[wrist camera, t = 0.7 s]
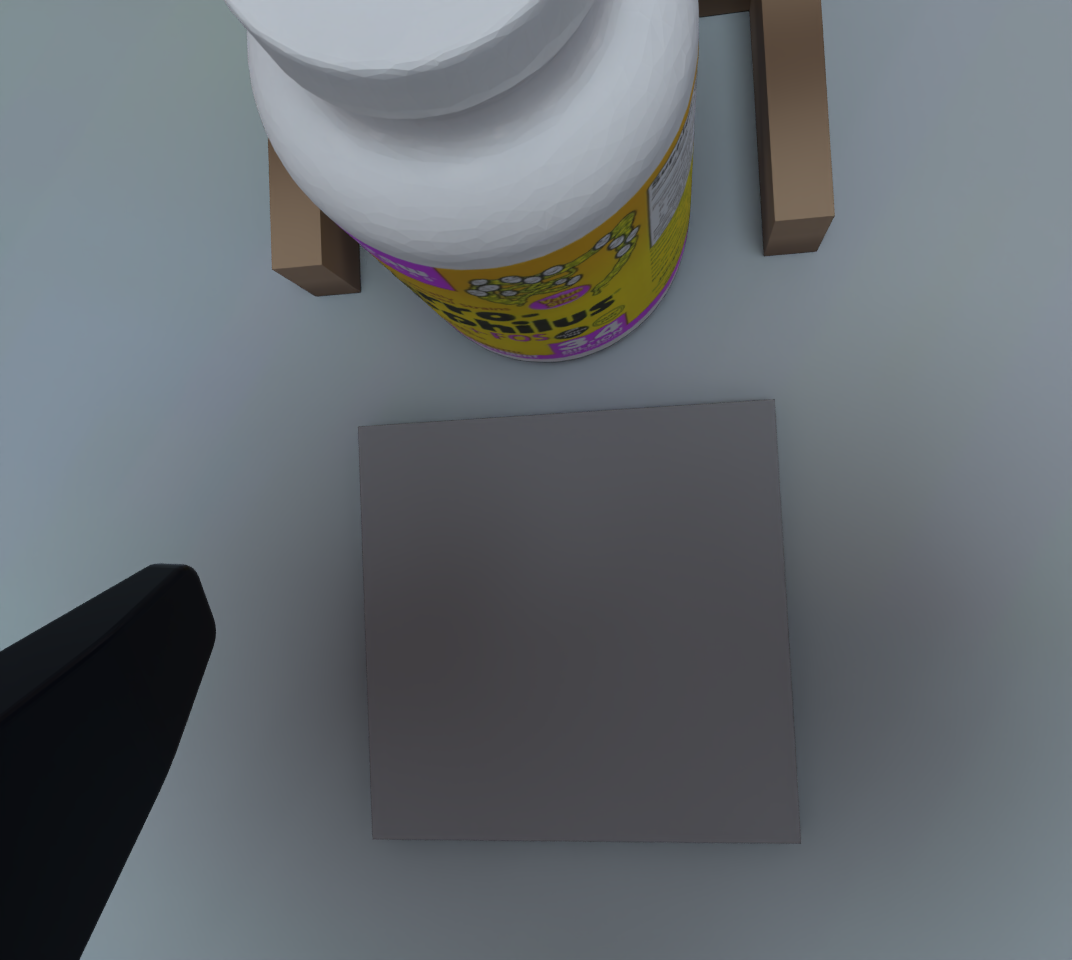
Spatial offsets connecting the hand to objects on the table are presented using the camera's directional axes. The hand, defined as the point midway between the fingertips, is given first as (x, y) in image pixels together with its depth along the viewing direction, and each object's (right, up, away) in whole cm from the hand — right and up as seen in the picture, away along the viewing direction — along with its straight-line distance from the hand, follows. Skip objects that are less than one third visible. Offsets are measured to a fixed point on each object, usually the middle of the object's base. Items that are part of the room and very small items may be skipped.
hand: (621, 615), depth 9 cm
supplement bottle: (0, +7, +13) cm, 15 cm away
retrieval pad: (0, -2, +13) cm, 13 cm away
